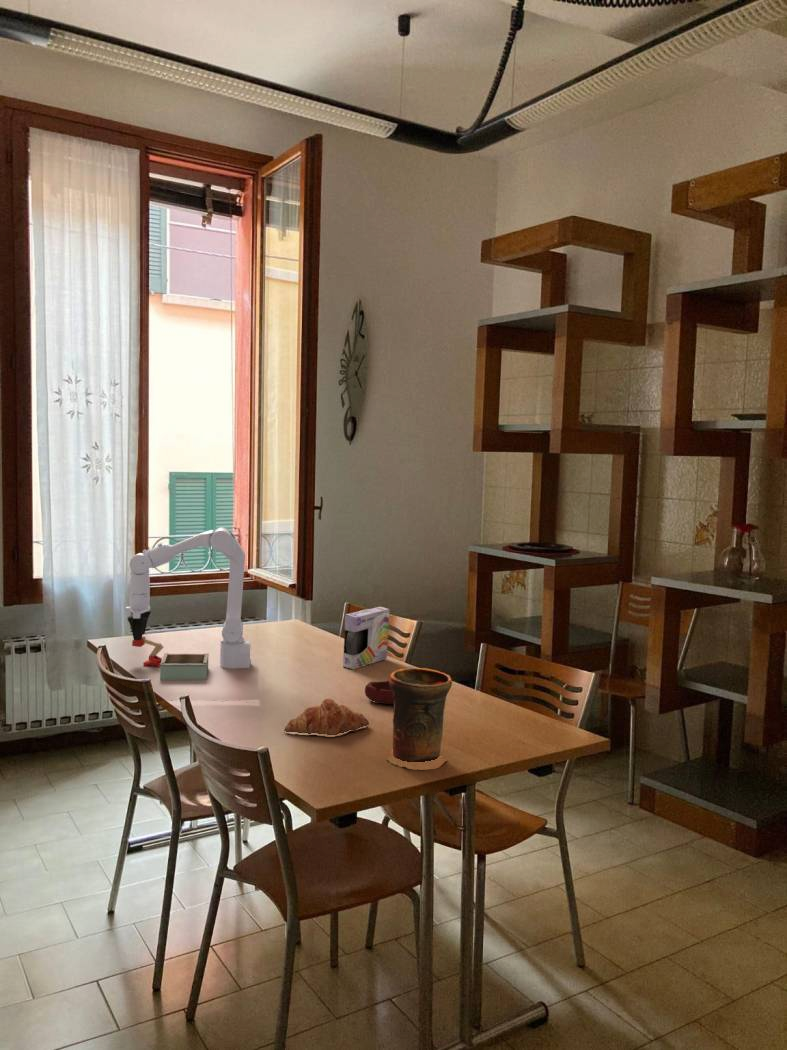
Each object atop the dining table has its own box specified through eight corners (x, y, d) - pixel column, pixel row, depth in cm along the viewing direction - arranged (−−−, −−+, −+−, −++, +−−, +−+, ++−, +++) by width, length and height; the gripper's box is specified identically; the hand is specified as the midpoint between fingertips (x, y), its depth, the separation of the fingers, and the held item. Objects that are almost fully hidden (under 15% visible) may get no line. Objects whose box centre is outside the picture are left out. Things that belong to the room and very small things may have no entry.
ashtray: (405, 715, 232) (406, 697, 231) (358, 702, 242) (359, 684, 241) (442, 701, 246) (443, 683, 246) (397, 689, 256) (398, 672, 255)
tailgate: (206, 678, 253) (206, 663, 252) (206, 679, 252) (206, 664, 251) (160, 678, 250) (160, 663, 250) (160, 679, 249) (160, 664, 249)
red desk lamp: (174, 672, 263) (175, 641, 262) (131, 669, 264) (131, 638, 263) (178, 669, 266) (179, 638, 265) (135, 666, 267) (136, 636, 266)
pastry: (334, 747, 206) (335, 714, 205) (281, 734, 213) (282, 702, 212) (370, 728, 220) (371, 697, 219) (320, 716, 228) (321, 687, 227)
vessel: (427, 744, 209) (431, 664, 207) (458, 766, 197) (464, 681, 194) (374, 752, 202) (378, 669, 200) (403, 776, 190) (408, 688, 187)
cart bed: (208, 672, 263) (208, 653, 263) (206, 682, 253) (206, 662, 252) (164, 672, 261) (164, 653, 261) (160, 682, 251) (160, 662, 250)
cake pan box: (351, 670, 273) (353, 616, 271) (339, 667, 276) (341, 613, 274) (388, 660, 288) (390, 608, 286) (376, 657, 291) (378, 605, 289)
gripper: (129, 588, 268) (129, 631, 270) (122, 597, 254) (122, 642, 255) (153, 588, 269) (152, 631, 271) (147, 597, 255) (146, 642, 256)
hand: (139, 637), depth 263 cm, fingers open, 7 cm apart
